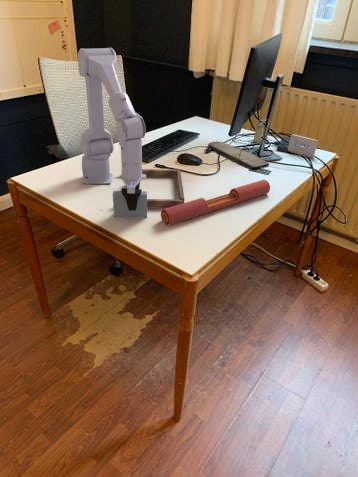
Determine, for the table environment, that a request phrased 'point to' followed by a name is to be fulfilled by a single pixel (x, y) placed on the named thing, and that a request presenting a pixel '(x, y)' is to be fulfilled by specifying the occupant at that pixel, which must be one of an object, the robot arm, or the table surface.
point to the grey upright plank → (122, 207)
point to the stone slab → (237, 155)
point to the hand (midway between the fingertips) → (132, 203)
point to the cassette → (301, 149)
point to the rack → (165, 202)
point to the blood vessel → (213, 202)
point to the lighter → (259, 131)
